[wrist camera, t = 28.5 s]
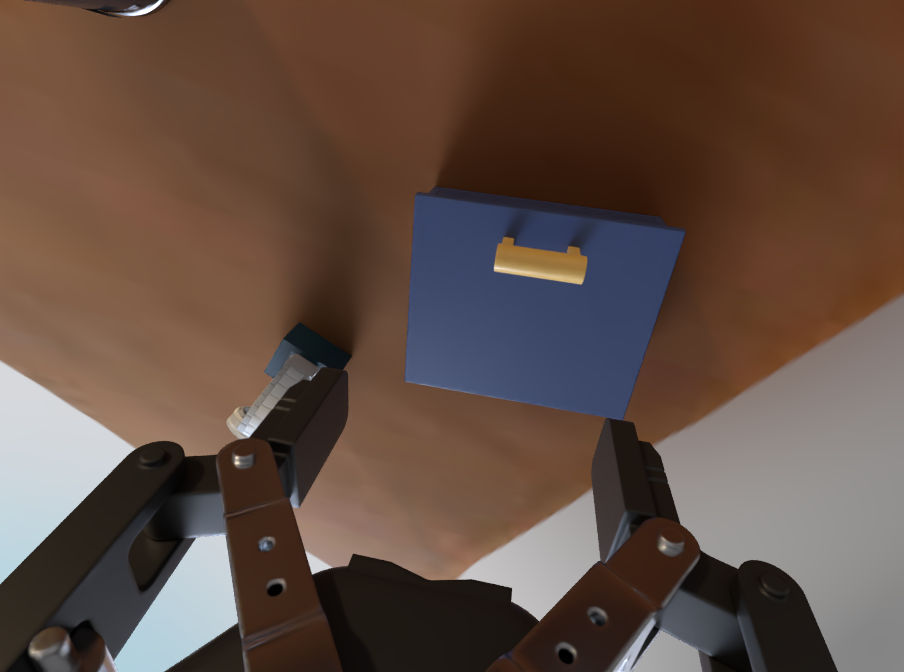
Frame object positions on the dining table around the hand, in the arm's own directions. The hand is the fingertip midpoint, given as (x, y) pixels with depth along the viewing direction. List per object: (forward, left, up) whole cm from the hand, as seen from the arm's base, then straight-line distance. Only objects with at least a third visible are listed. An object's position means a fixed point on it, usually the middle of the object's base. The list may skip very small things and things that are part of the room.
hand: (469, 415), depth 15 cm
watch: (+15, -16, -24) cm, 33 cm away
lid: (+5, +2, -18) cm, 19 cm away
